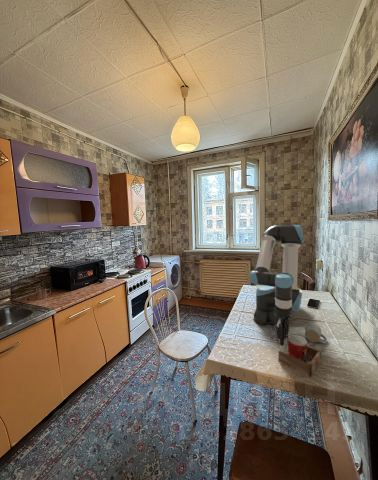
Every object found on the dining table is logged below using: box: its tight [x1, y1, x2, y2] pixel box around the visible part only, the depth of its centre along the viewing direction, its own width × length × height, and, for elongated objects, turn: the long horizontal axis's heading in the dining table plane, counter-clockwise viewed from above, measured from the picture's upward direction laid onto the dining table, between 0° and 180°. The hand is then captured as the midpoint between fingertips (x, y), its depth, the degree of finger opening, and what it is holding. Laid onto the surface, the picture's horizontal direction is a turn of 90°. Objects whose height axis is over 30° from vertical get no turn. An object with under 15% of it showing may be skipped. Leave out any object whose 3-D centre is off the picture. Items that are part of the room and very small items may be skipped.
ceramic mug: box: [304, 322, 328, 344], centre depth 112 cm, size 11×8×8 cm
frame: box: [278, 345, 322, 378], centre depth 97 cm, size 14×14×5 cm
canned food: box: [287, 334, 308, 363], centre depth 97 cm, size 8×8×11 cm
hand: (282, 349), depth 103 cm, fingers closed
